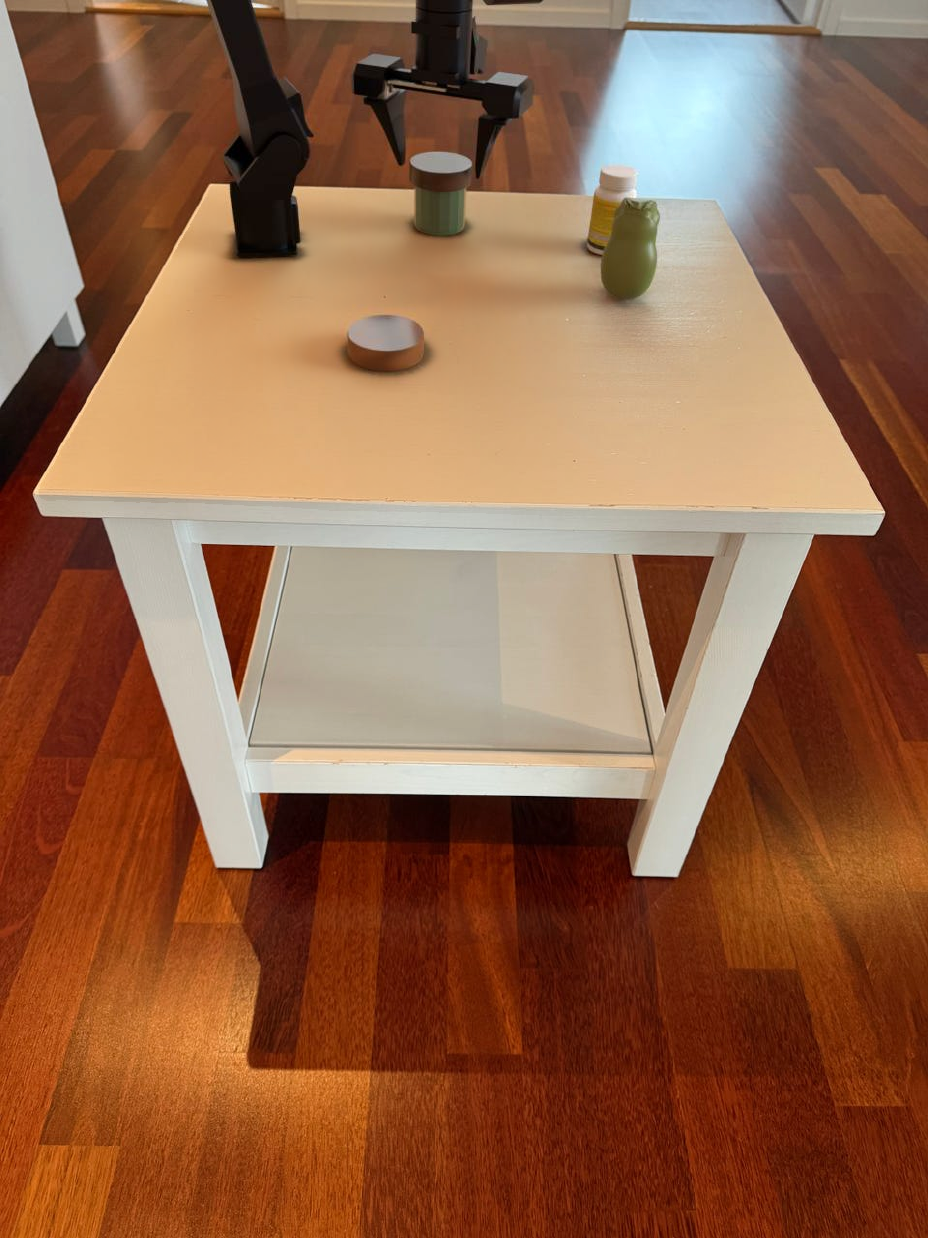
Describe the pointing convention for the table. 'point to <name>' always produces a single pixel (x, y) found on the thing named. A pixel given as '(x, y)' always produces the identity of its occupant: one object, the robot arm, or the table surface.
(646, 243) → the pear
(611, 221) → the supplement bottle
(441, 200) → the plastic cup
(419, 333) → the teak chip
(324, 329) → the table surface
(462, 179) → the walnut chip
